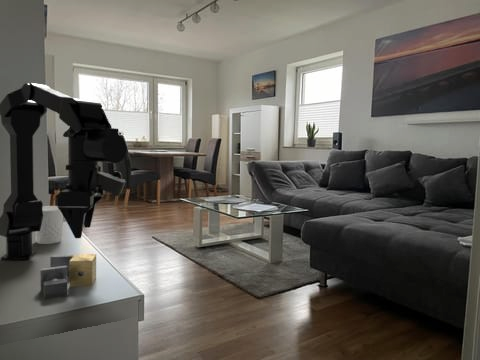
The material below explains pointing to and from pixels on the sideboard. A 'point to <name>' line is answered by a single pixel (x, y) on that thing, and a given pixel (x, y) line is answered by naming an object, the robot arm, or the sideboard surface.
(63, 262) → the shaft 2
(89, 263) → the block
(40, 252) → the sideboard surface
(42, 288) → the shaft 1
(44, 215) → the white cup
